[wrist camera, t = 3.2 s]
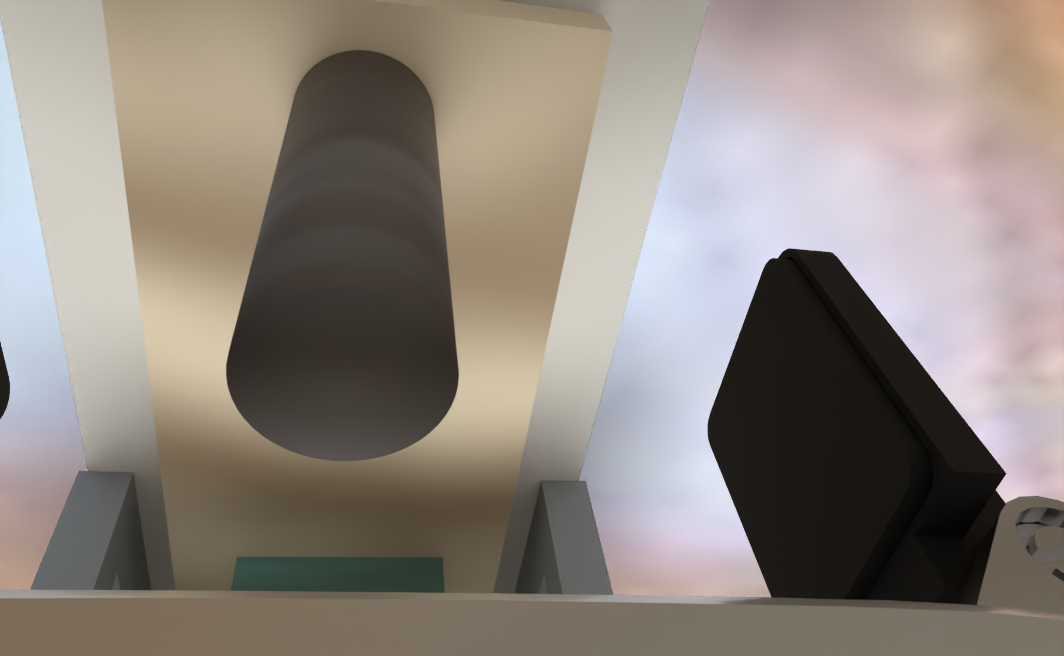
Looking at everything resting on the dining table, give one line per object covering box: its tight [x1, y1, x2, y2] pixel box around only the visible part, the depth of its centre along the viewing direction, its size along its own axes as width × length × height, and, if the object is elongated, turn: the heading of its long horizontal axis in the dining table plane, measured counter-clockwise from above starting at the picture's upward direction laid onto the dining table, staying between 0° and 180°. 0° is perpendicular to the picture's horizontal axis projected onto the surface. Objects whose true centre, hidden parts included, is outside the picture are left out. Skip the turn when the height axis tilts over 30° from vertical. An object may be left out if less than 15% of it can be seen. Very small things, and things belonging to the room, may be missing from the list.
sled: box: [102, 0, 613, 593], centre depth 17 cm, size 21×8×8 cm, turn 171°
